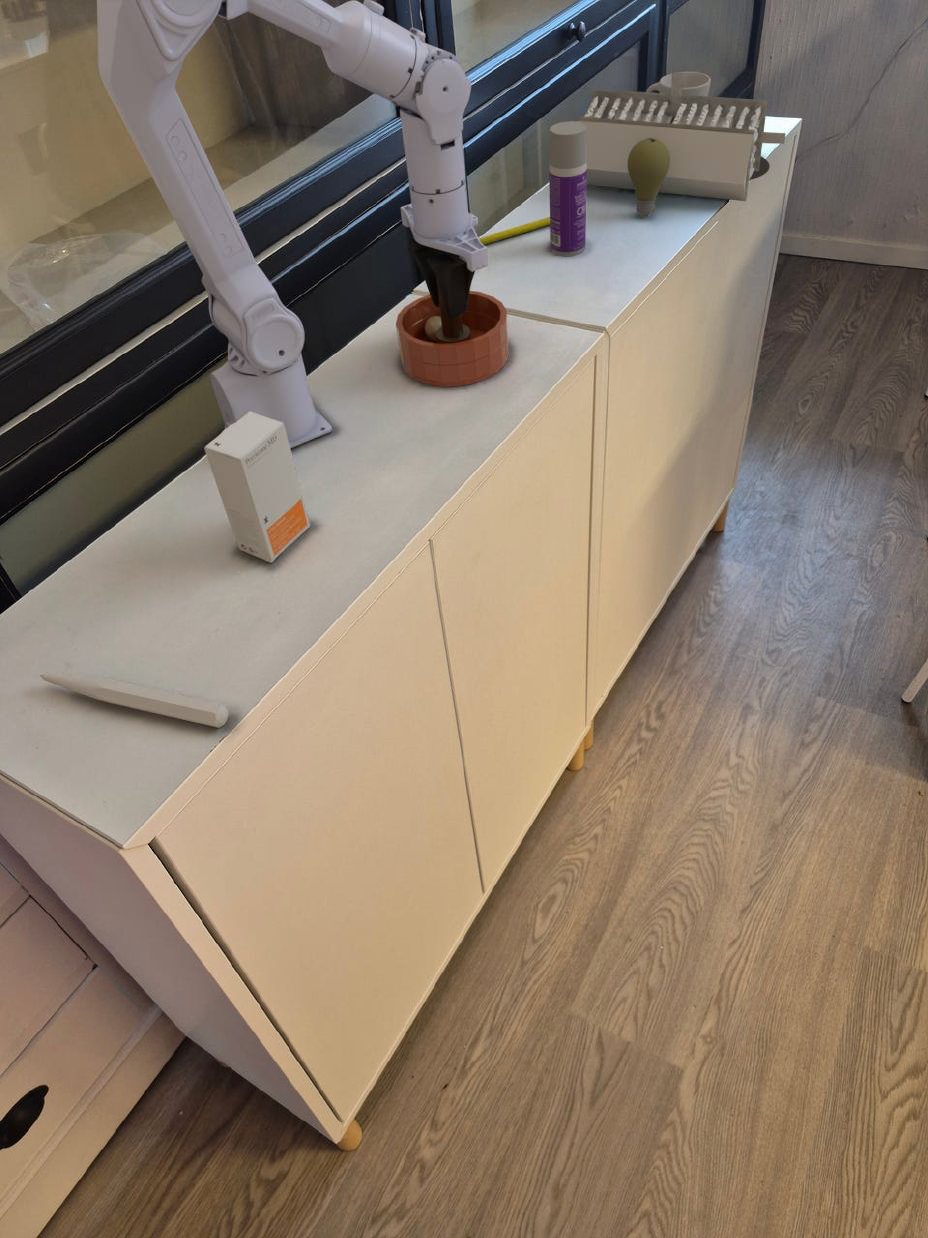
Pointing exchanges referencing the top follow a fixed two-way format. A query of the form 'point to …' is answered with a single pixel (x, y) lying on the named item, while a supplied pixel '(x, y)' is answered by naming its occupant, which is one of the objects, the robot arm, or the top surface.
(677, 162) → the miniature building
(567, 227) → the container
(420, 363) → the bowl
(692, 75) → the cup
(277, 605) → the top surface
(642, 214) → the light bulb
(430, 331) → the bead
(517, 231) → the pencil
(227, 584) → the top surface
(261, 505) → the cosmetic box
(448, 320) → the pestle
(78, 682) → the tool
